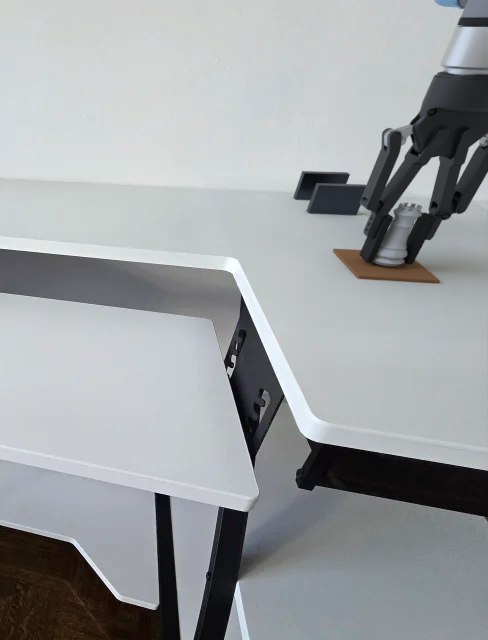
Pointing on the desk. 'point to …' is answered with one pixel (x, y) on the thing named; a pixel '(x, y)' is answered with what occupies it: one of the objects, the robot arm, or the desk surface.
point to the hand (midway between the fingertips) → (385, 259)
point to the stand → (329, 192)
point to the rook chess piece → (397, 235)
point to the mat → (384, 269)
